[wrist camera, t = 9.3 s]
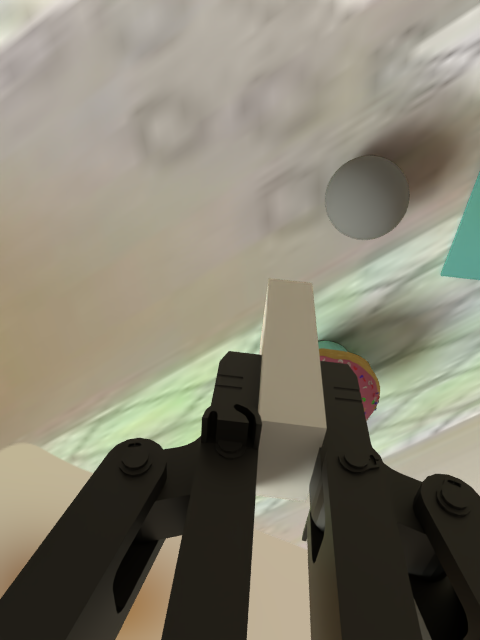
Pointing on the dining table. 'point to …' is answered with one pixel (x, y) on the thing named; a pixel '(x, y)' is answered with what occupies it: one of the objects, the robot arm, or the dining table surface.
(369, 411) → the cupcake
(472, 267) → the teal mark
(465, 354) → the dining table surface
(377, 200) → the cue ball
